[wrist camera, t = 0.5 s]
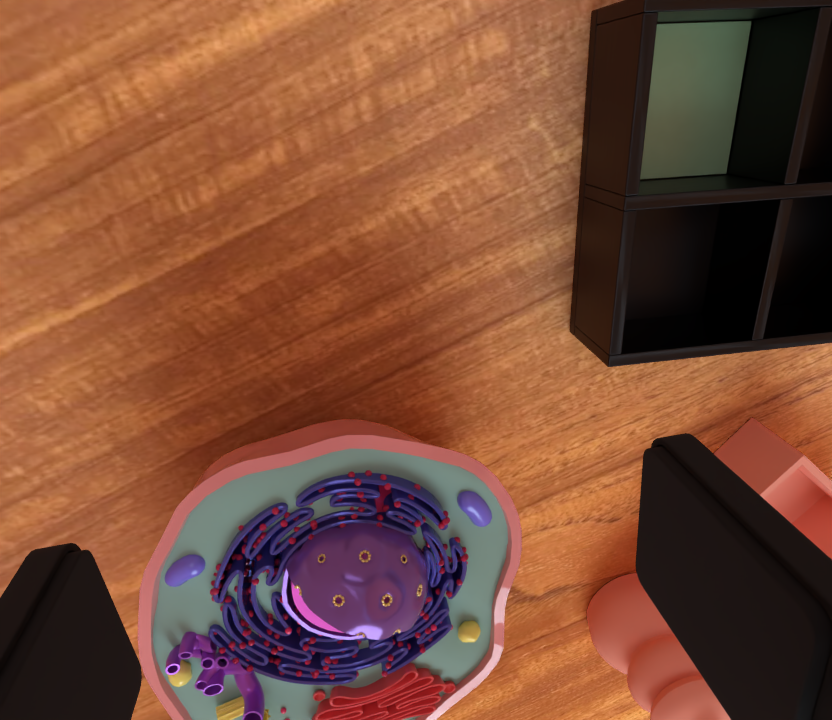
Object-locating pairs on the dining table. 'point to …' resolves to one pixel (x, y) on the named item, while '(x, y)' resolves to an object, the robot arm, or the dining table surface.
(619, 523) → the dining table surface
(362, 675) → the cell model
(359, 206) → the dining table surface
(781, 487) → the pottery
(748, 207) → the black compartment tray
